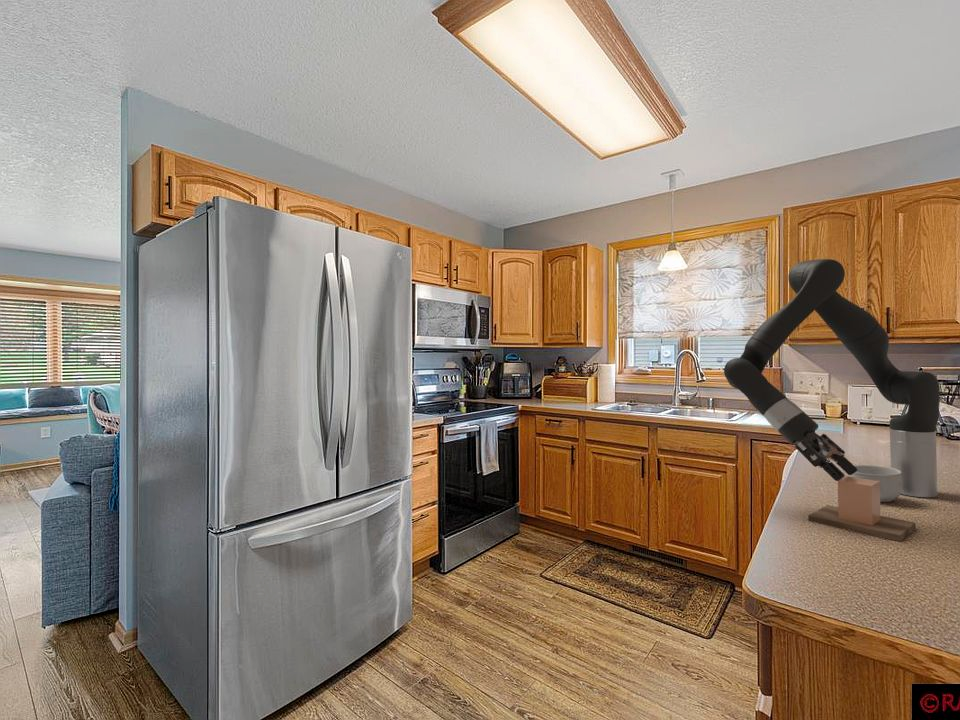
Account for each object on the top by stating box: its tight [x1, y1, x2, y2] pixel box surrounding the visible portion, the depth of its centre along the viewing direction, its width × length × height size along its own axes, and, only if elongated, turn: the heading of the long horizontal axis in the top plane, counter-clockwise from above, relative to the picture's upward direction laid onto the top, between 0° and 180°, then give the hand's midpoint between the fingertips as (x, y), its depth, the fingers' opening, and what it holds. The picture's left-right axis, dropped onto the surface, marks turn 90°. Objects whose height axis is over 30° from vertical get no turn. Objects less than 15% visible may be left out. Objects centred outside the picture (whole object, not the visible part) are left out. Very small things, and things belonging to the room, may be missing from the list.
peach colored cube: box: [837, 475, 882, 525], centre depth 104 cm, size 6×6×8 cm
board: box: [807, 504, 916, 542], centre depth 104 cm, size 12×16×1 cm
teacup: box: [847, 463, 902, 503], centre depth 124 cm, size 14×11×8 cm
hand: (847, 475), depth 105 cm, fingers open, 8 cm apart
